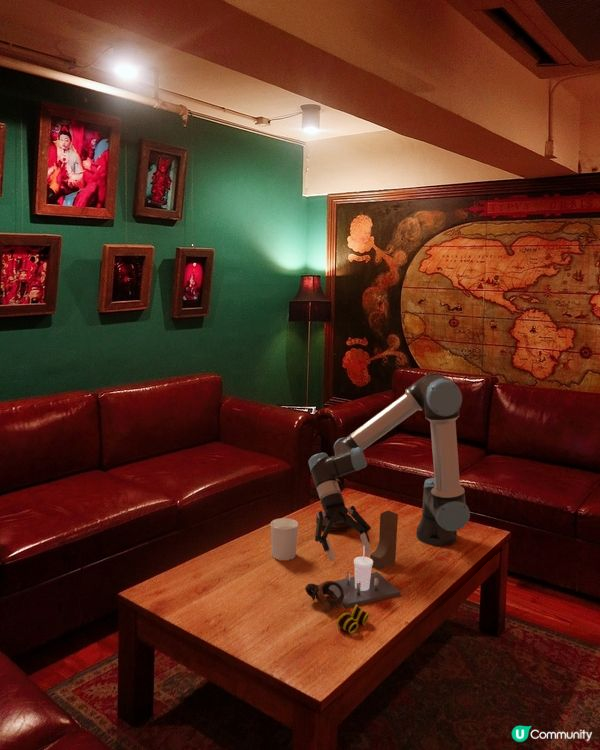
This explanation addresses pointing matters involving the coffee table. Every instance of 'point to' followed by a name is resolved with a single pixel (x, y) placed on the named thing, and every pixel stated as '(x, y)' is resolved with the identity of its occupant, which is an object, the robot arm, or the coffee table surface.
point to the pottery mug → (324, 590)
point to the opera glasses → (352, 619)
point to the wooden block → (386, 541)
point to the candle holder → (284, 538)
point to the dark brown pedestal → (339, 525)
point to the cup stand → (356, 597)
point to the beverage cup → (363, 571)
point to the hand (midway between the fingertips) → (351, 556)
